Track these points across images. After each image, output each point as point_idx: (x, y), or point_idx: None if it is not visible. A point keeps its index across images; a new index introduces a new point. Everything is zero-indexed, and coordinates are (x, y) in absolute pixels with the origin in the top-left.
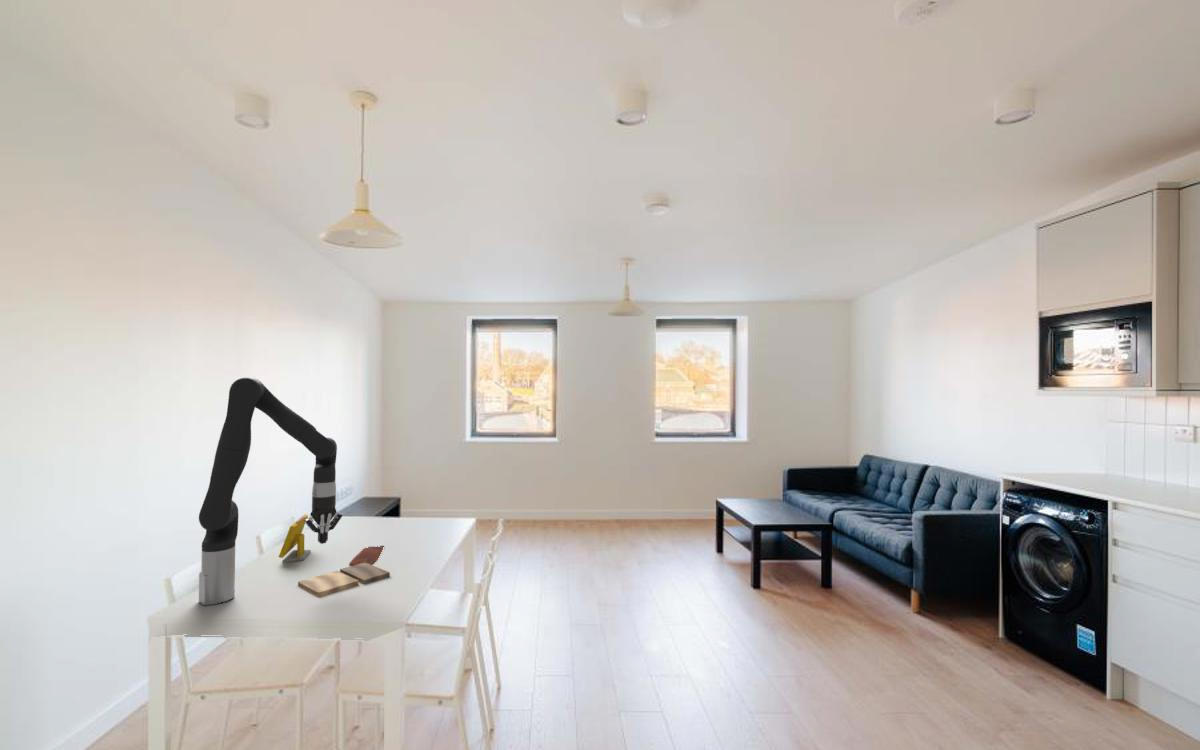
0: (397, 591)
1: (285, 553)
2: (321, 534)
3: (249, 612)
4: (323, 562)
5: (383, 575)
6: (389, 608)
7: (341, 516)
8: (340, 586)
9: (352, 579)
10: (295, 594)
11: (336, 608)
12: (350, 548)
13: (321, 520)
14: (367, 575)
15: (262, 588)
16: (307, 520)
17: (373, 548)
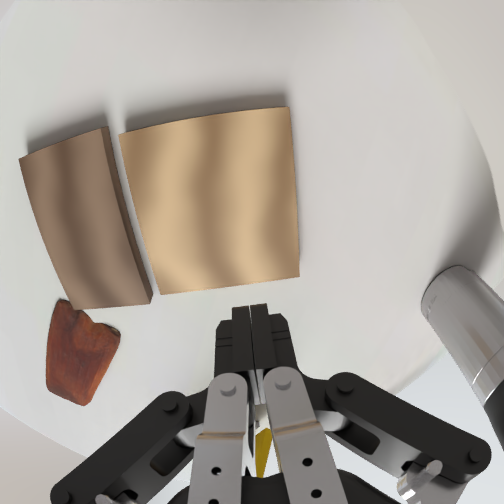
0: (57, 4)
1: (257, 437)
2: (279, 365)
3: (455, 153)
4: (179, 390)
5: (37, 151)
6: None
7: (58, 489)
8: (194, 118)
9: (133, 163)
10: (331, 197)
11: None
12: (115, 418)
13: (332, 500)
14: (78, 174)
15: (366, 308)
16: (487, 464)
17: (66, 390)
